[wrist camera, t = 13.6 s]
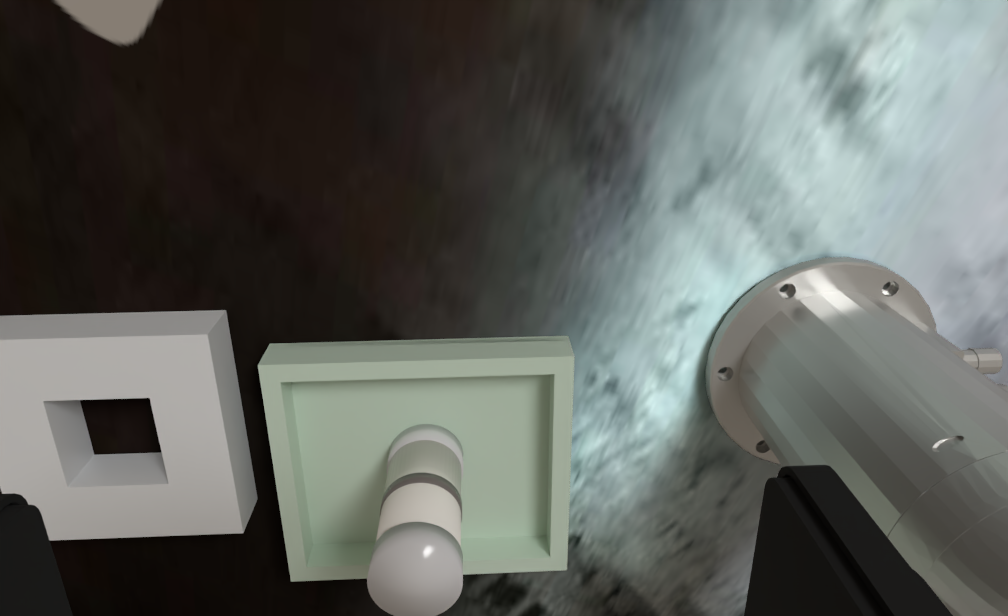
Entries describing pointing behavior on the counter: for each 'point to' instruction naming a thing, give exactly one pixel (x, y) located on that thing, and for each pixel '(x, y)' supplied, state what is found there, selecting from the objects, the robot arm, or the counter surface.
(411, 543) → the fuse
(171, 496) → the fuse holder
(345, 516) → the parts tray
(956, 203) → the counter surface
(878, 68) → the counter surface
